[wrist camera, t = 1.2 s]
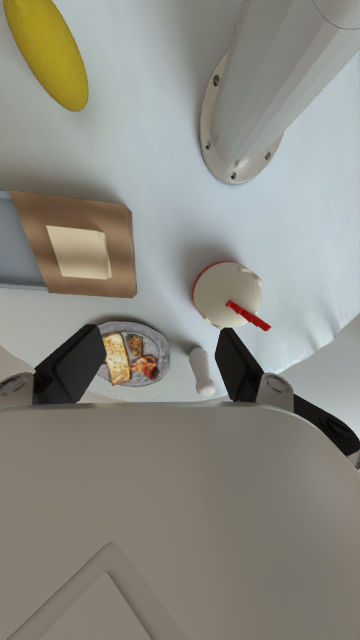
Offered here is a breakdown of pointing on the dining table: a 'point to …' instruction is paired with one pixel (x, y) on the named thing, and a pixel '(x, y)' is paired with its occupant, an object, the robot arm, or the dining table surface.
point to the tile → (80, 252)
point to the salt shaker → (201, 371)
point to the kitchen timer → (228, 296)
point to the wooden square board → (85, 216)
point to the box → (16, 251)
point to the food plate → (133, 355)
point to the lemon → (49, 50)
